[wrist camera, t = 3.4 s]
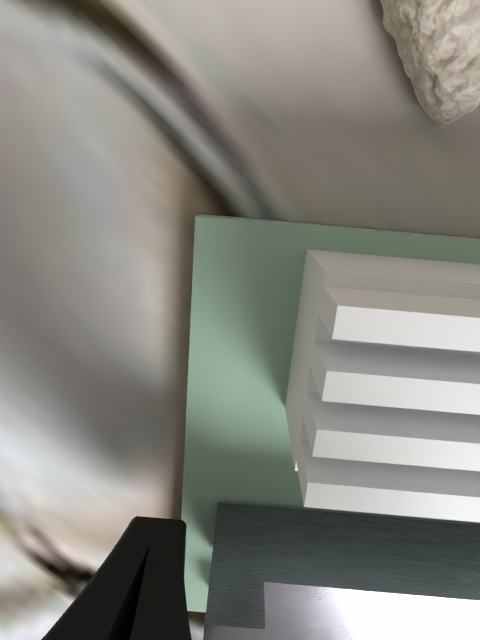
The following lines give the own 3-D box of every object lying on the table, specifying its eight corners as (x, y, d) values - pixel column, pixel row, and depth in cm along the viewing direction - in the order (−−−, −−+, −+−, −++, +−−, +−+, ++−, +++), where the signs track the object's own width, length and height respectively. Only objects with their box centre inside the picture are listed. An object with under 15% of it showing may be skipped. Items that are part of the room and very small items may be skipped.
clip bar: (212, 558, 12) (199, 690, 8) (218, 502, 11) (204, 624, 8) (523, 585, 12) (620, 727, 8) (546, 531, 11) (660, 664, 8)
